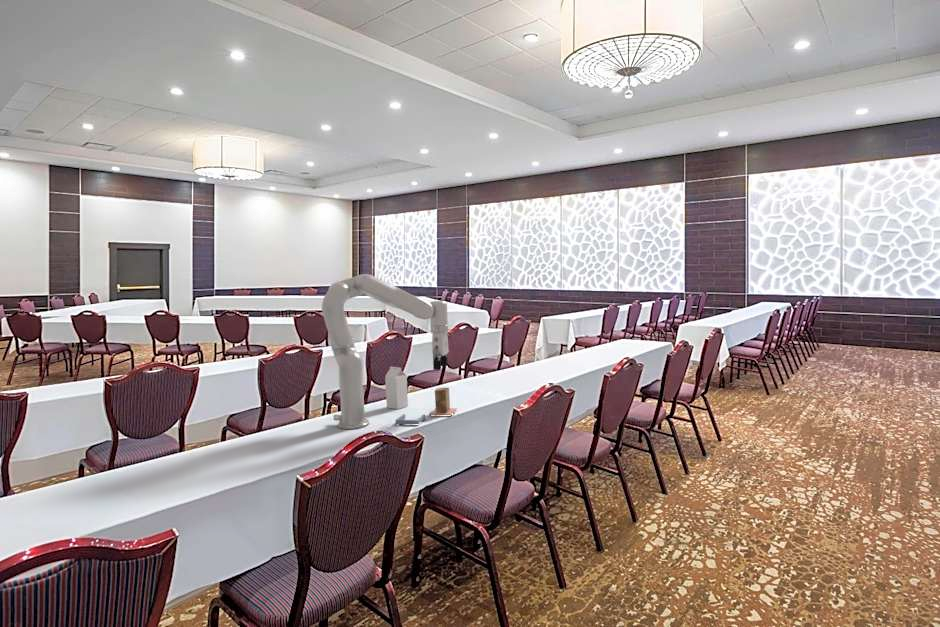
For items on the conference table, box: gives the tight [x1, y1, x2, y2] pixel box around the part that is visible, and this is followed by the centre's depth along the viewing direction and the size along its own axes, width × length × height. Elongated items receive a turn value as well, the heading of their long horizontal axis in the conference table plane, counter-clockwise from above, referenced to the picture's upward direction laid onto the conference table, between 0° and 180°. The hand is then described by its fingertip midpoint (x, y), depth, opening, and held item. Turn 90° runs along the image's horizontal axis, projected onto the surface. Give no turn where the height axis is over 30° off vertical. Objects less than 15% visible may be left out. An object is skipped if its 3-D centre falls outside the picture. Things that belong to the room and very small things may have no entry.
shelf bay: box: [395, 414, 426, 425], centre depth 227 cm, size 10×9×2 cm
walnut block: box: [434, 387, 451, 413], centre depth 238 cm, size 5×5×10 cm
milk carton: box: [384, 366, 409, 410], centre depth 252 cm, size 7×7×19 cm
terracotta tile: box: [428, 407, 458, 416], centre depth 239 cm, size 10×10×1 cm
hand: (440, 367), depth 237 cm, fingers open, 9 cm apart
